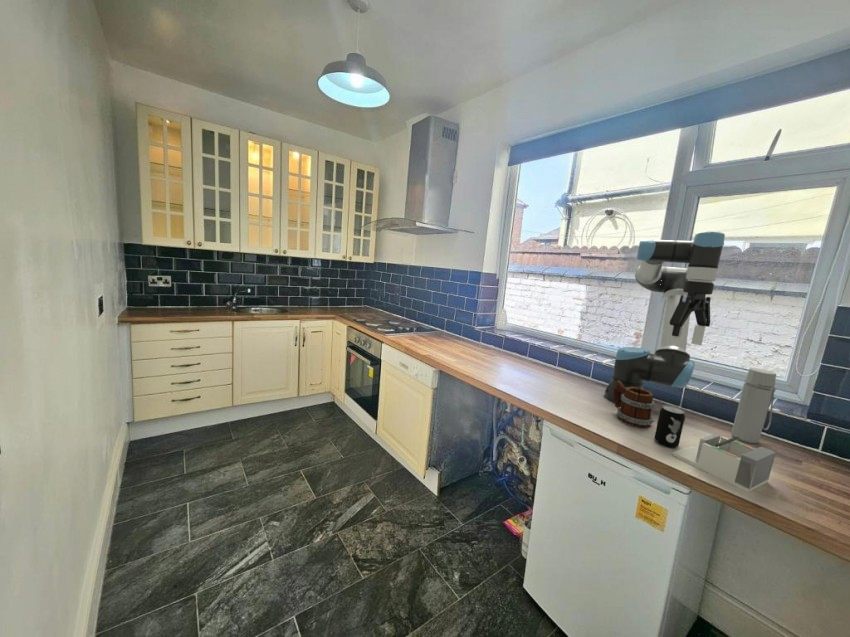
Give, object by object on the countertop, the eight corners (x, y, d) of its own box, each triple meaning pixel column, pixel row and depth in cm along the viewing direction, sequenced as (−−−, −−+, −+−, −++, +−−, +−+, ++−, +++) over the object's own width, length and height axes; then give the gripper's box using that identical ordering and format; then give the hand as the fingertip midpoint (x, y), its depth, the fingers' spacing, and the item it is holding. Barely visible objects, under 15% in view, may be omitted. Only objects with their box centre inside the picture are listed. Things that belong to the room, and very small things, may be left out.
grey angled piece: (713, 453, 104) (718, 429, 103) (742, 466, 98) (749, 441, 97) (692, 461, 99) (698, 436, 97) (722, 475, 92) (729, 449, 91)
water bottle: (736, 441, 116) (754, 371, 112) (726, 431, 124) (742, 365, 119) (771, 448, 113) (790, 377, 109) (758, 438, 120) (776, 370, 116)
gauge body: (692, 448, 109) (699, 422, 107) (767, 482, 93) (776, 452, 92) (672, 455, 103) (678, 427, 102) (748, 492, 88) (756, 460, 86)
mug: (642, 431, 117) (642, 388, 117) (604, 420, 130) (604, 381, 130) (661, 426, 122) (662, 385, 122) (623, 416, 135) (623, 378, 135)
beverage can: (657, 445, 109) (664, 410, 107) (651, 436, 115) (658, 403, 113) (681, 451, 106) (689, 415, 104) (674, 441, 112) (681, 407, 111)
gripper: (705, 282, 118) (692, 341, 121) (665, 278, 106) (652, 343, 110) (732, 284, 111) (717, 346, 115) (692, 280, 100) (677, 349, 103)
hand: (685, 345), depth 112 cm, fingers open, 13 cm apart
